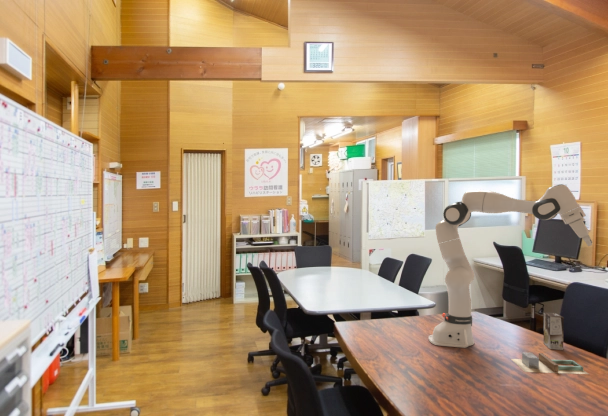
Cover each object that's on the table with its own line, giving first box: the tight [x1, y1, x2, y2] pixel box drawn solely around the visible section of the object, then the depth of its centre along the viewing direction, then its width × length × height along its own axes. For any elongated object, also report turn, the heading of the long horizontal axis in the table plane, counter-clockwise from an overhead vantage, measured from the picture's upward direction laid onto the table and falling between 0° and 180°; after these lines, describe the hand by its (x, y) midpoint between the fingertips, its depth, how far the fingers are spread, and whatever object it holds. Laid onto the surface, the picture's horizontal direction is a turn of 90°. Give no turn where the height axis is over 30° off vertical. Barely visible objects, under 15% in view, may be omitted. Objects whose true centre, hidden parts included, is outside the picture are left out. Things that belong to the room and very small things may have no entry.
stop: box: [521, 351, 539, 369], centre depth 187 cm, size 4×7×4 cm, turn 175°
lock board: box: [510, 352, 589, 375], centre depth 187 cm, size 26×15×4 cm, turn 85°
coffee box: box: [543, 312, 565, 351], centre depth 214 cm, size 9×6×16 cm
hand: (590, 244), depth 189 cm, fingers open, 8 cm apart
